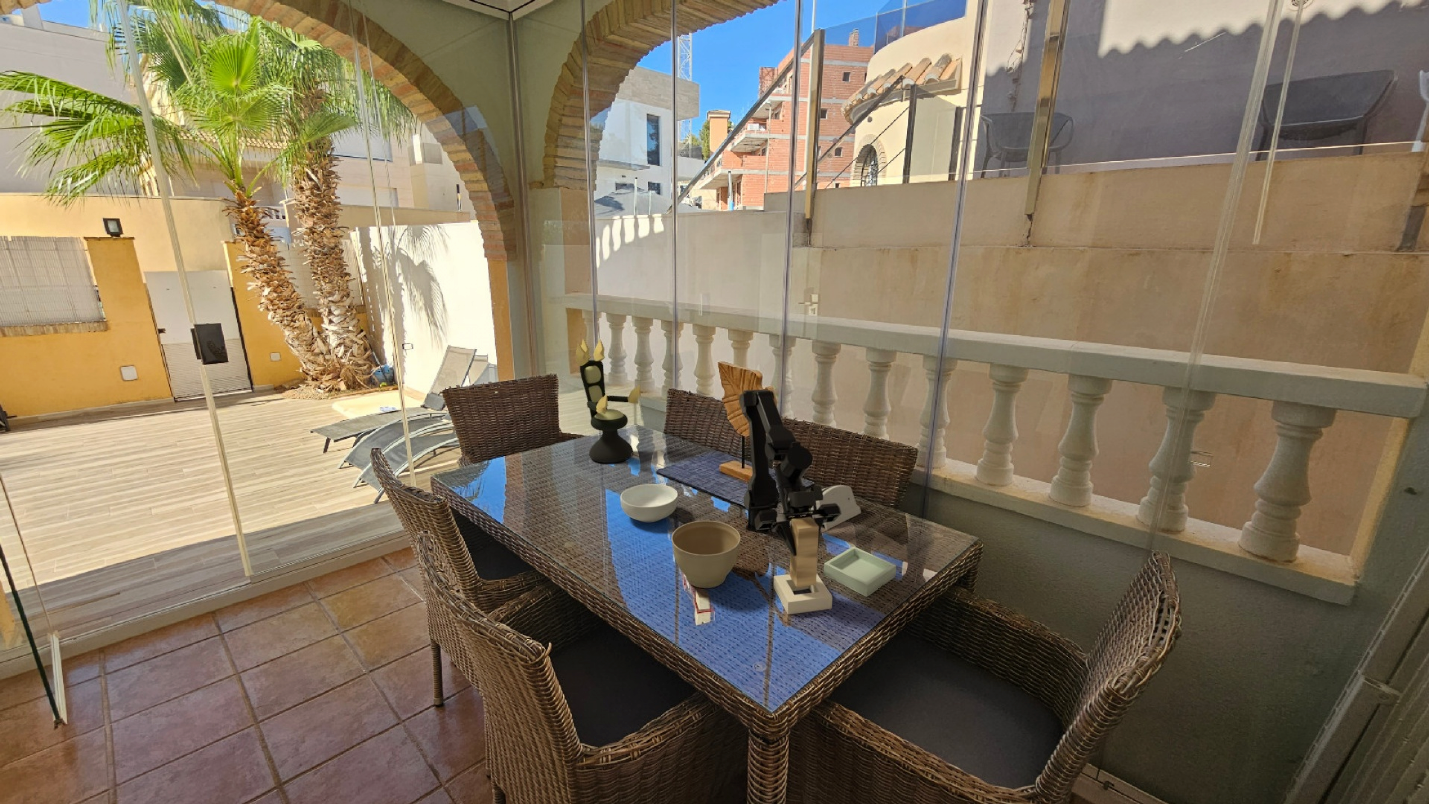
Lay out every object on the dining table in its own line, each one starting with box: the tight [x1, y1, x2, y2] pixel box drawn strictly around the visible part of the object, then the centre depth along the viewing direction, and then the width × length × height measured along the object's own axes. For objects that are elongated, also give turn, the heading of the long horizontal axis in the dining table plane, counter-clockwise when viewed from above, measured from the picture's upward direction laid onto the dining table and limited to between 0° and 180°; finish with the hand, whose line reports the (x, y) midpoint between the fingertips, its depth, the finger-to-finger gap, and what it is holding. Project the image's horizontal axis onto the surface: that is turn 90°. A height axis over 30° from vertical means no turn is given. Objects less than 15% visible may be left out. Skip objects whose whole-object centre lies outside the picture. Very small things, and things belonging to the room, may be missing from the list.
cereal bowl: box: [620, 483, 679, 523], centre depth 160 cm, size 17×17×7 cm
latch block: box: [773, 573, 833, 615], centre depth 121 cm, size 10×10×3 cm
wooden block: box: [789, 517, 819, 587], centre depth 119 cm, size 4×4×14 cm
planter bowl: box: [671, 520, 741, 589], centre depth 128 cm, size 16×16×11 cm
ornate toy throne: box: [574, 338, 642, 464], centre depth 204 cm, size 19×22×45 cm
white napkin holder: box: [810, 484, 862, 530], centre depth 159 cm, size 17×5×10 cm, turn 130°
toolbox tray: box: [823, 546, 897, 598], centre depth 130 cm, size 12×12×3 cm
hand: (806, 554), depth 117 cm, fingers closed on wooden block, 4 cm apart
